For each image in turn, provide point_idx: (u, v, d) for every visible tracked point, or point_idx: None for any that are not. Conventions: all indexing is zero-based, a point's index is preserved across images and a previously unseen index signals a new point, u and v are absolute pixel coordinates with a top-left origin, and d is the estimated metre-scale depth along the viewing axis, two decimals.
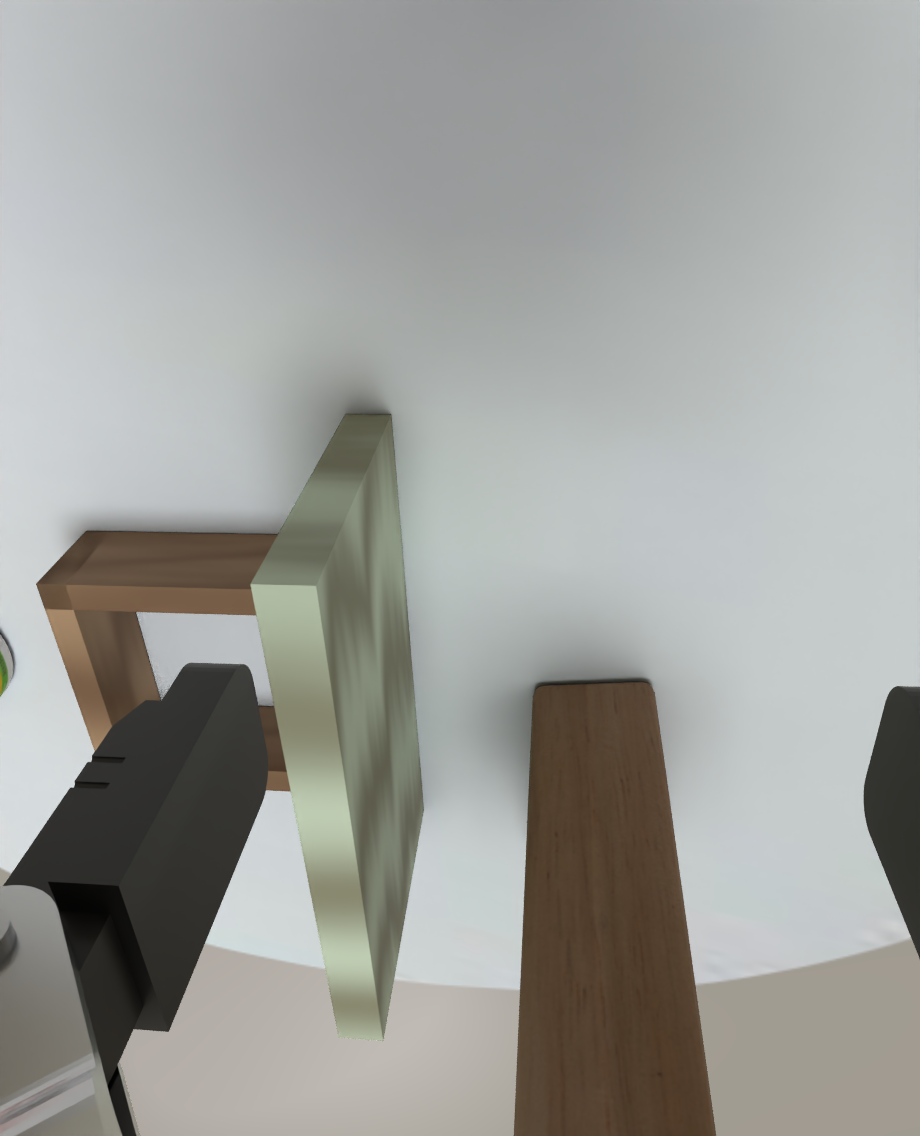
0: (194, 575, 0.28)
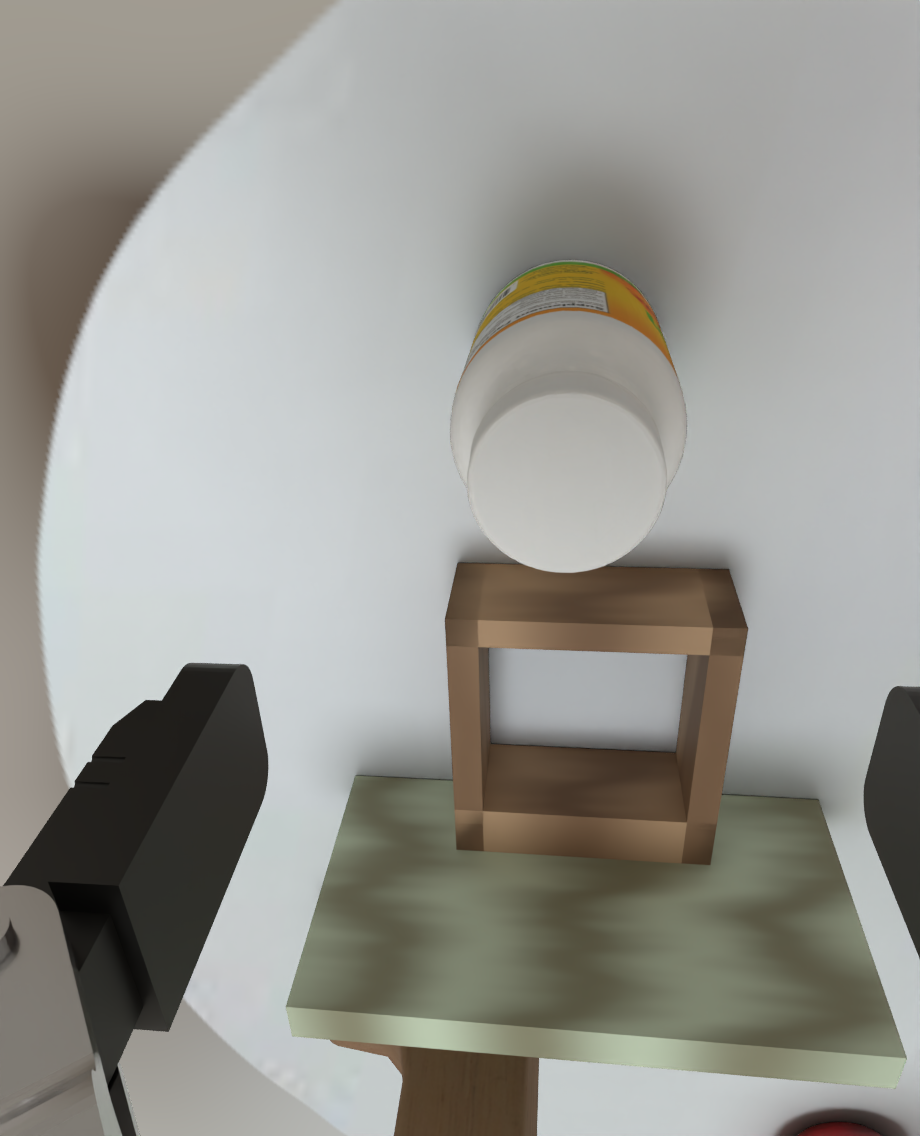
0: None
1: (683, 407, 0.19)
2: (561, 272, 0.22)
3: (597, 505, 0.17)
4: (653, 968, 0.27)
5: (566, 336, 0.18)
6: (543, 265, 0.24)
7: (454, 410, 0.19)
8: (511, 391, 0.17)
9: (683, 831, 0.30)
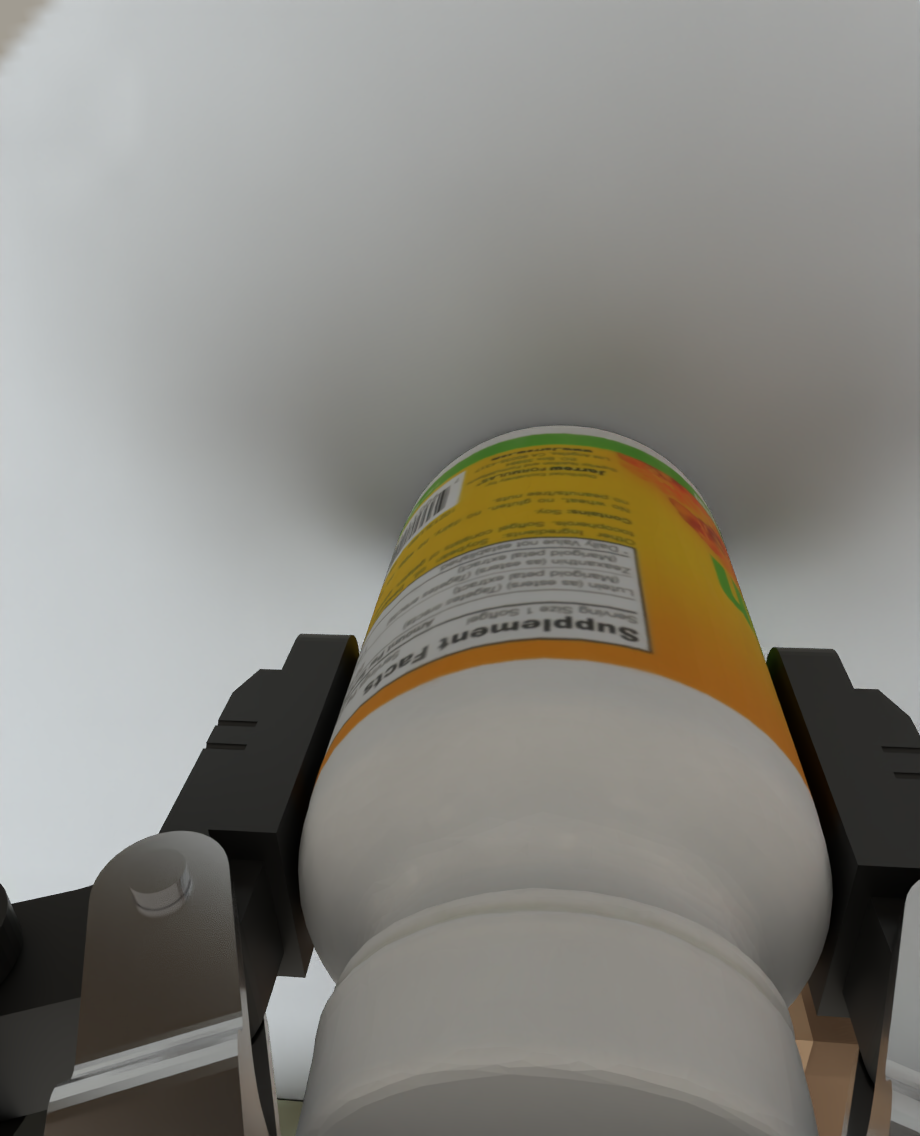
0: None
1: (829, 878, 0.08)
2: (544, 473, 0.12)
3: None
4: None
5: (553, 759, 0.07)
6: (512, 439, 0.13)
7: (300, 859, 0.09)
8: (405, 953, 0.06)
9: None
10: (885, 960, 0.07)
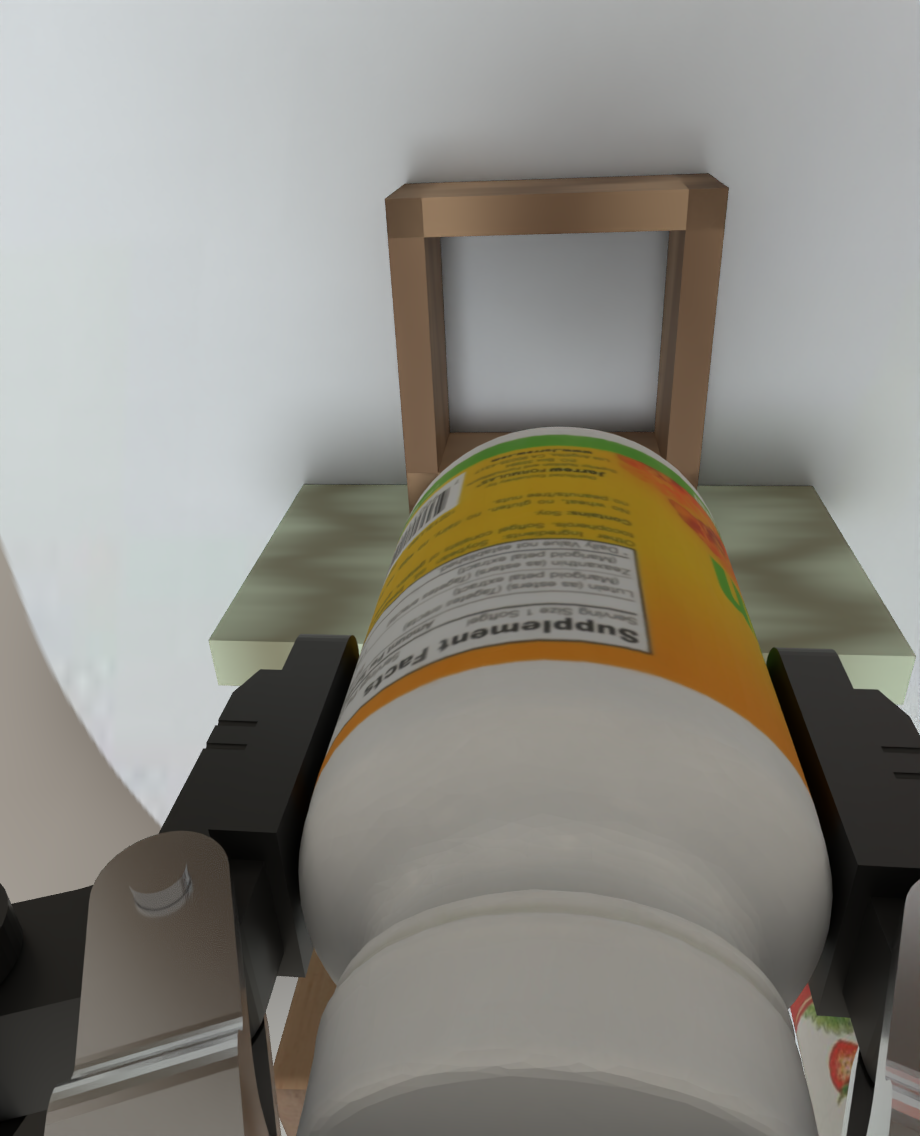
0: None
1: (829, 879, 0.08)
2: (544, 475, 0.12)
3: None
4: None
5: (554, 760, 0.07)
6: (512, 440, 0.13)
7: (301, 860, 0.09)
8: (405, 954, 0.06)
9: None
10: (885, 960, 0.07)
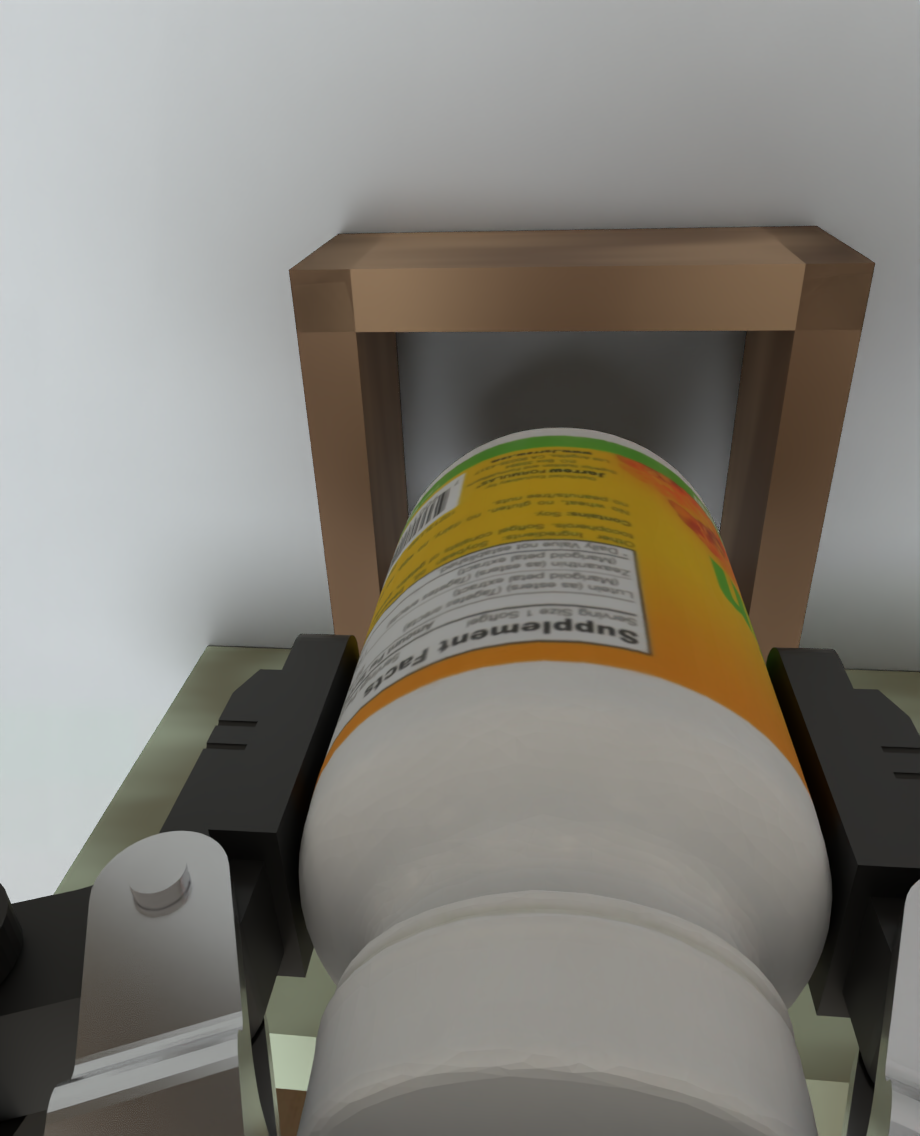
0: None
1: (829, 880, 0.08)
2: (544, 476, 0.12)
3: None
4: None
5: (554, 761, 0.07)
6: (512, 441, 0.13)
7: (301, 861, 0.09)
8: (405, 955, 0.06)
9: None
10: (885, 960, 0.07)
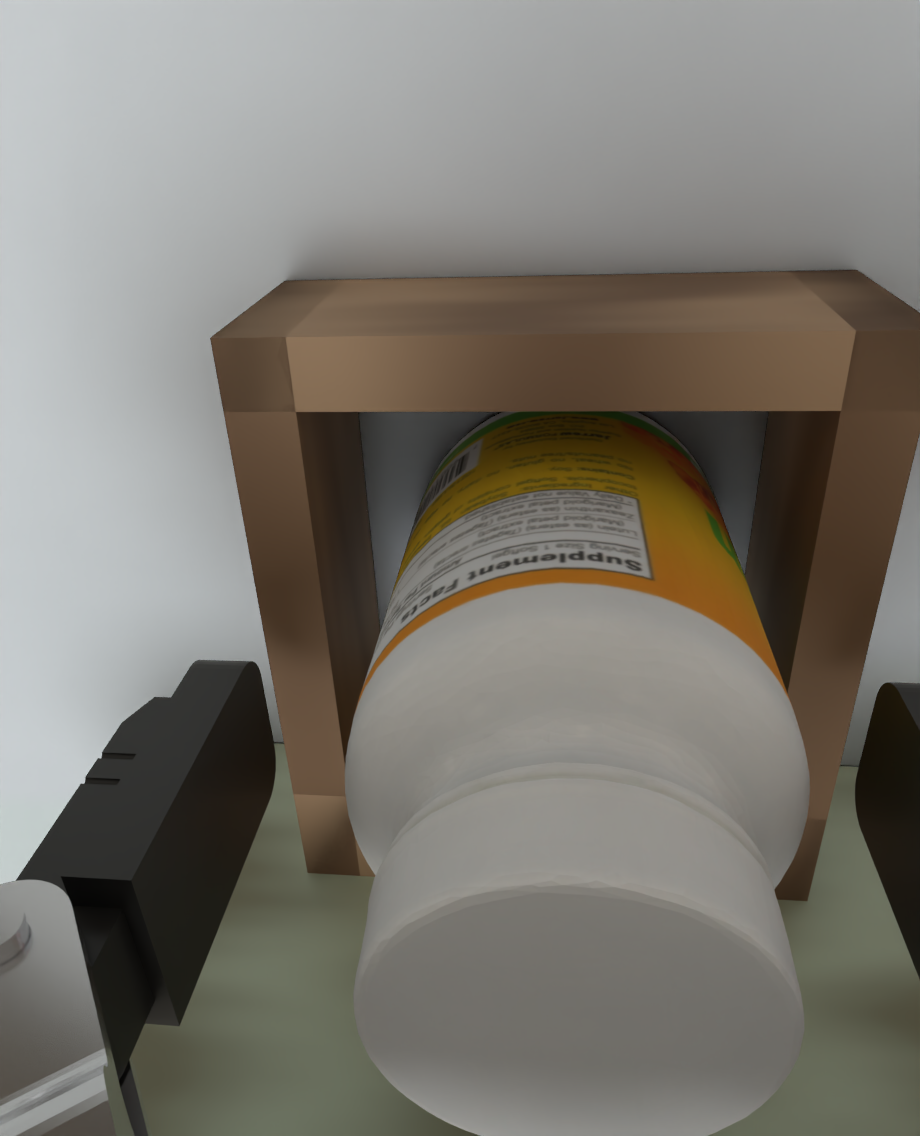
0: None
1: (807, 773, 0.09)
2: (555, 438, 0.13)
3: (644, 1068, 0.08)
4: None
5: (570, 662, 0.08)
6: None
7: (348, 763, 0.10)
8: (449, 815, 0.08)
9: None
10: None
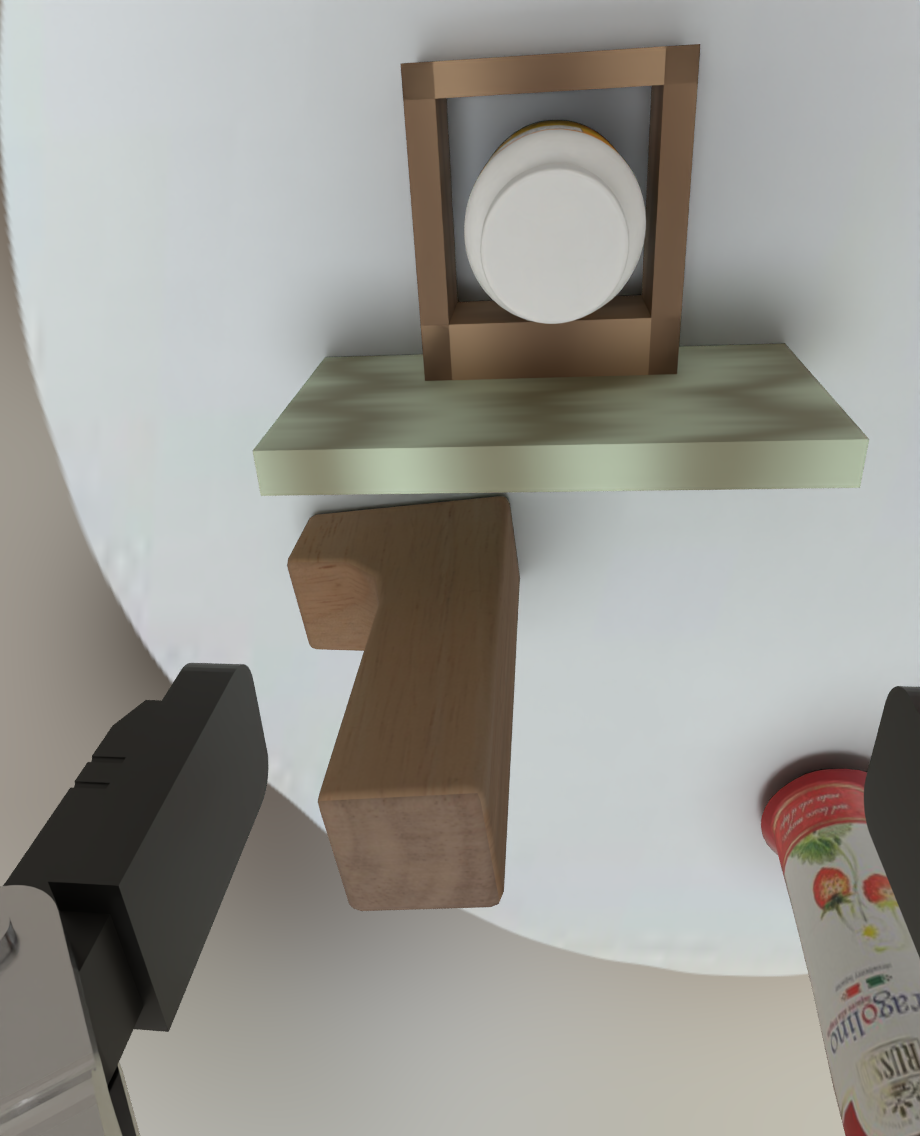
0: None
1: (642, 201, 0.25)
2: (546, 122, 0.28)
3: (578, 263, 0.23)
4: (618, 416, 0.27)
5: (551, 144, 0.24)
6: (531, 124, 0.30)
7: (467, 213, 0.25)
8: (511, 179, 0.23)
9: (648, 330, 0.30)
10: None
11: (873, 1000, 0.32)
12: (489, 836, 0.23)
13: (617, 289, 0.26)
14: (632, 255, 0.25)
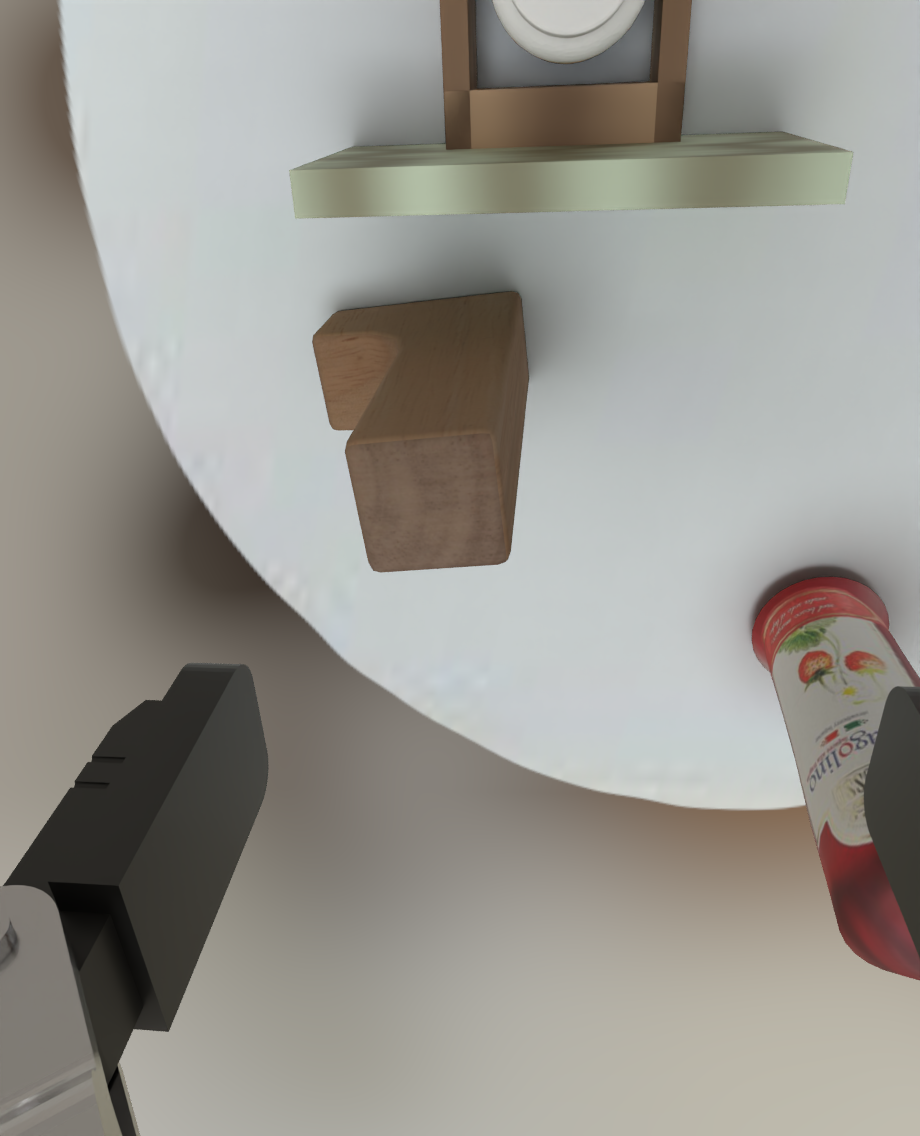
0: None
1: None
2: None
3: None
4: (625, 153, 0.29)
5: None
6: None
7: None
8: None
9: (655, 96, 0.32)
10: None
11: (850, 739, 0.35)
12: (499, 484, 0.25)
13: (627, 22, 0.28)
14: None
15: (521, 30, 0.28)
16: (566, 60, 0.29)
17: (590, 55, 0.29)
